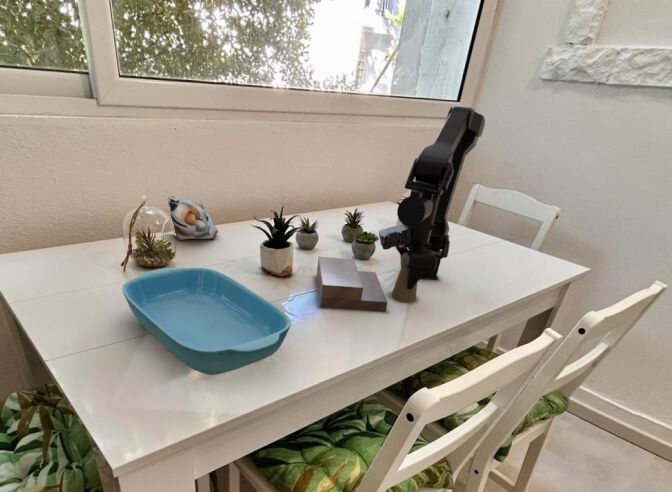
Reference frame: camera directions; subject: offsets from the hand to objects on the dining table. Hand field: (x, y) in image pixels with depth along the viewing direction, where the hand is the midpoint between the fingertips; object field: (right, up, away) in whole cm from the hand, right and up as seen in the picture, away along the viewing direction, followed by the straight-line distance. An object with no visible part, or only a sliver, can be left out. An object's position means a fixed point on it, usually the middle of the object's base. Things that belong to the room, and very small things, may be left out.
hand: (406, 283), depth 111 cm
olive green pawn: (0, -3, +2) cm, 4 cm away
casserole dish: (-44, -15, -21) cm, 51 cm away
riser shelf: (-14, -2, +1) cm, 14 cm away
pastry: (-31, +5, +10) cm, 33 cm away
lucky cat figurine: (-57, +19, +25) cm, 65 cm away
